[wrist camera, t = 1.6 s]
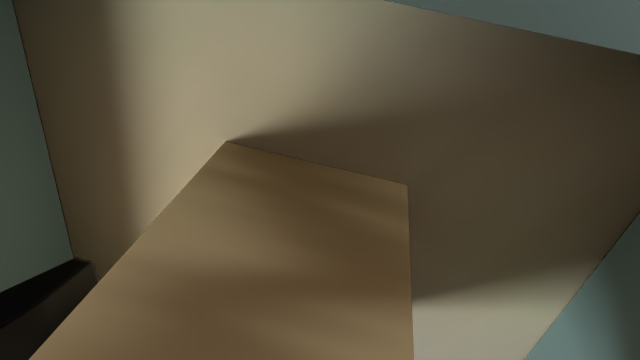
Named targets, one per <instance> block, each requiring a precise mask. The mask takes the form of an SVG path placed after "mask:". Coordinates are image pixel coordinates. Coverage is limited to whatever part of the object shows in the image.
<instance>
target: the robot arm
mask: <svg viewBox="0 0 640 360" xmlns="http://www.w3.org/2000/svg"><path fill="white" fill-rule="evenodd" d="M97 283H98V279H97V274H96V269H95V265H94V263H93V262H91V261H88V260H84V259H81V258H74V259H71V260H69V261H67V262H64V263H62V264H60V265H58V266H56V267H54V268H51V269H49V270H47V271H45V272H43V273H41V274H38V275H36V276H34V277H32V278H30V279H28V280H25V281H23V282H21V283H19V284H17V285H15V286H13V287H10V288H8V289H6V290H4V291H2V292H0V360H29V359H30V358H31V357H32V356H33V354H34V353H35V352H36V351H37V350H38V349H39V348H40V347H41V346H42V344H43V343H44V342H45V341H46V340H47V339H48V338H49V337H50V336H51V334H52V333H53V332H54V331H55V330H56V329H57V328H58V327H59V326H60V324H61V323H62V322H63V321H64V320H65V319H66V318H67V317H68V316H69V315H70V313H71V312H72V311H73V310H74V309H75V308H76V307H77V306H78V305H79V303H80V302H81V301H82V300H83V299H84V298H85V297H86V296H87V295H88V293H89V292H90V291H91V290H92V289H93V288H94V287H95V286H96V285H97Z"/></svg>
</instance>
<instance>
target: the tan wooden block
mask: <svg viewBox="0 0 640 360" xmlns="http://www.w3.org/2000/svg"><path fill="white" fill-rule="evenodd" d="M29 360H414V350H413V323H412V295H411V268H410V241H409V214H408V186H407V185H404V184H400V183H396V182H392V181H388V180H384V179H379V178H375V177H371V176H367V175H363V174H359V173H354V172H350V171H346V170H342V169H338V168H334V167H329V166H325V165H321V164H317V163H313V162H309V161H304V160H300V159H296V158H292V157H288V156H284V155H279V154H275V153H271V152H267V151H263V150H259V149H254V148H250V147H246V146H242V145H238V144H234V143H230V142H225V143H224V144H223V145H222V146H221V147H220V148H219V149H218V150H217V152H216V153H215V154H214V155H213V156H212V157H211V158H210V159H209V160H208V162H207V163H206V164H205V165H204V166H203V167H202V168H201V169H200V170H199V172H198V173H197V174H196V175H195V176H194V177H193V178H192V179H191V180H190V181H189V183H188V184H187V185H186V186H185V187H184V188H183V189H182V190H181V191H180V193H179V194H178V195H177V196H176V197H175V198H174V199H173V200H172V201H171V203H170V204H169V205H168V206H167V207H166V208H165V209H164V210H163V211H162V213H161V214H160V215H159V216H158V217H157V218H156V219H155V220H154V221H153V223H152V224H151V225H150V226H149V227H148V228H147V229H146V230H145V231H144V232H143V234H142V235H141V236H140V237H139V238H138V239H137V240H136V241H135V242H134V244H133V245H132V246H131V247H130V248H129V249H128V250H127V251H126V252H125V254H124V255H123V256H122V257H121V258H120V259H119V260H118V261H117V262H116V264H115V265H114V266H113V267H112V268H111V269H110V270H109V271H108V272H107V273H106V275H105V276H104V277H103V278H102V279H101V280H100V281H99V282H98V283H97V285H96V286H95V287H94V288H93V289H92V290H91V291H90V292H89V293H88V295H87V296H86V297H85V298H84V299H83V300H82V301H81V302H80V303H79V305H78V306H77V307H76V308H75V309H74V310H73V311H72V312H71V313H70V315H69V316H68V317H67V318H66V319H65V320H64V321H63V322H62V323H61V324H60V326H59V327H58V328H57V329H56V330H55V331H54V332H53V333H52V334H51V336H50V337H49V338H48V339H47V340H46V341H45V342H44V343H43V344H42V346H41V347H40V348H39V349H38V350H37V351H36V352H35V353H34V354H33V356H32V357H31V358H30V359H29Z"/></svg>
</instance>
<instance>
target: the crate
mask: <svg viewBox="0 0 640 360" xmlns="http://www.w3.org/2000/svg"><path fill="white" fill-rule="evenodd" d="M386 1H391V2H395V3H400V4H405V5H409V6H414V7H419V8H423V9H428V10H433V11H438V12H442V13H447V14H452V15H456V16H461V17H466V18H470V19H475V20H480V21H484V22H489V23H494V24H498V25H503V26H508V27H513V28H517V29H522V30H527V31H531V32H536V33H541V34H545V35H550V36H555V37H559V38H564V39H569V40H574V41H578V42H583V43H588V44H592V45H597V46H602V47H606V48H611V49H616V50H620V51H625V52H630V53H634V54H639V55H640V0H386ZM71 259H74V258H73V254H72V250H71V246H70V242H69V237H68V233H67V229H66V225H65V221H64V216H63V212H62V208H61V204H60V200H59V196H58V191H57V187H56V183H55V179H54V175H53V170H52V166H51V162H50V158H49V154H48V150H47V145H46V141H45V137H44V133H43V129H42V124H41V120H40V116H39V112H38V108H37V103H36V99H35V95H34V91H33V87H32V83H31V78H30V74H29V70H28V66H27V62H26V57H25V53H24V49H23V45H22V41H21V37H20V32H19V28H18V24H17V20H16V16H15V11H14V7H13V3H12V0H0V292H2V291H4V290H6V289H8V288H10V287H13V286H15V285H17V284H19V283H21V282H23V281H25V280H28V279H30V278H32V277H34V276H36V275H38V274H41V273H43V272H45V271H47V270H49V269H51V268H54V267H56V266H58V265H60V264H62V263H64V262H67V261H69V260H71ZM525 360H640V213H639V214H638V216H637V217H636V218H635V219H634V221H633V222H632V223H631V225H630V226H629V227H628V228H627V230H626V231H625V232H624V233H623V235H622V236H621V237H620V239H619V240H618V241H617V242H616V244H615V245H614V246H613V248H612V249H611V250H610V251H609V253H608V254H607V255H606V256H605V258H604V259H603V260H602V262H601V263H600V264H599V265H598V267H597V268H596V269H595V270H594V272H593V273H592V274H591V276H590V277H589V278H588V279H587V281H586V282H585V283H584V285H583V286H582V287H581V288H580V290H579V291H578V292H577V293H576V295H575V296H574V297H573V299H572V300H571V301H570V302H569V304H568V305H567V306H566V308H565V309H564V310H563V311H562V313H561V314H560V315H559V316H558V318H557V319H556V320H555V322H554V323H553V324H552V325H551V327H550V328H549V329H548V330H547V332H546V333H545V334H544V336H543V337H542V338H541V339H540V341H539V342H538V343H537V345H536V346H535V347H534V348H533V350H532V351H531V352H530V353H529V355H528V356H527V357H526V359H525Z"/></svg>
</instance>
